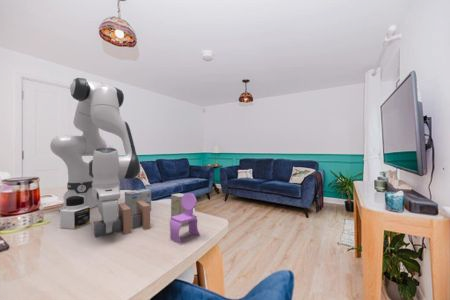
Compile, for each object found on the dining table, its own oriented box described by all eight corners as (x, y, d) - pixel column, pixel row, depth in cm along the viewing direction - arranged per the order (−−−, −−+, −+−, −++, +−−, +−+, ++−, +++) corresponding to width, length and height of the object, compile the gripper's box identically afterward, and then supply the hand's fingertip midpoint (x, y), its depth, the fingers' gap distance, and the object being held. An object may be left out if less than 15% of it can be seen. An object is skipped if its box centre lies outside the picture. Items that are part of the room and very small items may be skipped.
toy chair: (167, 238, 69) (166, 195, 69) (187, 230, 76) (187, 191, 76) (181, 245, 64) (181, 198, 64) (202, 236, 70) (201, 194, 70)
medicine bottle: (74, 229, 78) (74, 198, 78) (59, 228, 79) (59, 198, 79) (90, 222, 85) (90, 194, 85) (76, 221, 86) (76, 194, 86)
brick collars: (118, 225, 81) (118, 203, 81) (142, 220, 87) (142, 200, 87) (124, 234, 73) (123, 210, 73) (150, 227, 78) (150, 205, 78)
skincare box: (170, 223, 83) (170, 194, 83) (179, 220, 86) (179, 192, 86) (179, 227, 79) (179, 196, 79) (188, 224, 82) (188, 194, 82)
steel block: (94, 234, 73) (94, 221, 73) (144, 222, 84) (144, 211, 84) (95, 237, 70) (95, 224, 70) (147, 225, 81) (147, 214, 81)
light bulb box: (144, 208, 105) (144, 188, 105) (151, 210, 101) (151, 189, 101) (124, 213, 97) (124, 191, 97) (131, 216, 93) (131, 193, 93)
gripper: (93, 188, 80) (94, 222, 80) (99, 197, 64) (100, 239, 64) (111, 186, 84) (111, 218, 84) (121, 194, 68) (121, 234, 68)
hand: (106, 228), depth 74 cm, fingers open, 8 cm apart
